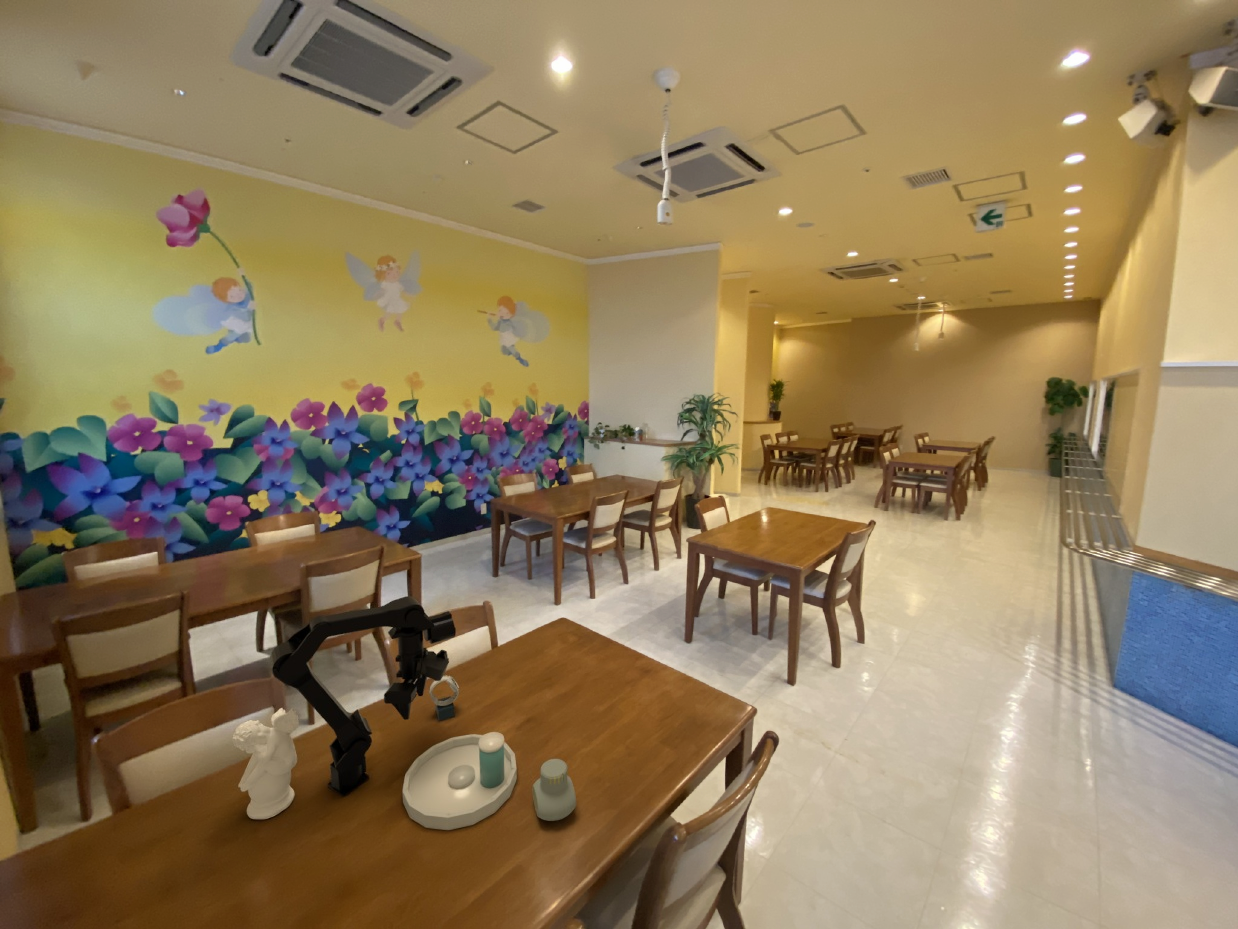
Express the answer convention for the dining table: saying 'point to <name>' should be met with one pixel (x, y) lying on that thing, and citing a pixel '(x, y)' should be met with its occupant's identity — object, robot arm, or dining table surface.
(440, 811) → the groove tray
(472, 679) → the dining table surface
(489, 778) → the bead jar
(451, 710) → the watch
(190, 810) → the dining table surface
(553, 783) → the air freshener
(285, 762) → the cherub figurine
